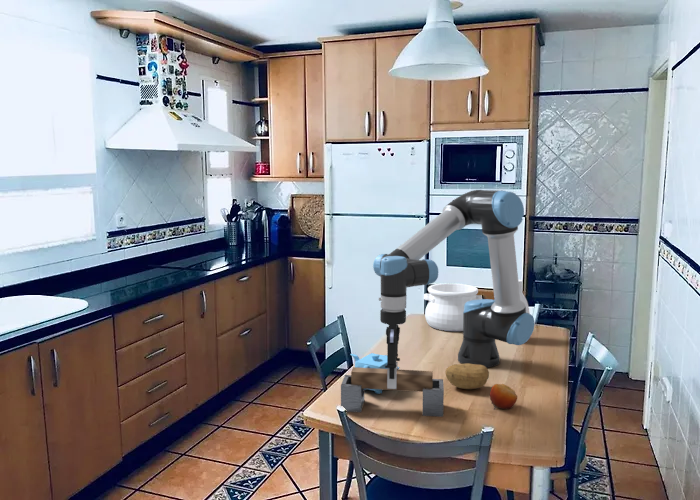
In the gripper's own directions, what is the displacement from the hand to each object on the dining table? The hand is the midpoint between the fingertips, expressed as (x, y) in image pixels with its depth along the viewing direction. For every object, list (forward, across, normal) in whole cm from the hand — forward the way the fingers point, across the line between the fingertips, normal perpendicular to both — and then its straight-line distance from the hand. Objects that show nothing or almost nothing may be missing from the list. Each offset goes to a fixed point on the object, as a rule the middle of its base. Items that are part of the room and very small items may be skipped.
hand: (392, 385), depth 178 cm
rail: (+1, 0, 0) cm, 1 cm away
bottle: (+7, -76, +46) cm, 89 cm away
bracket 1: (+7, 0, -12) cm, 14 cm away
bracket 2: (+7, 0, +12) cm, 14 cm away
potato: (+7, -19, +23) cm, 31 cm away
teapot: (+7, -16, -7) cm, 19 cm away
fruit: (+7, -5, +33) cm, 34 cm away
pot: (+7, -96, +21) cm, 99 cm away
